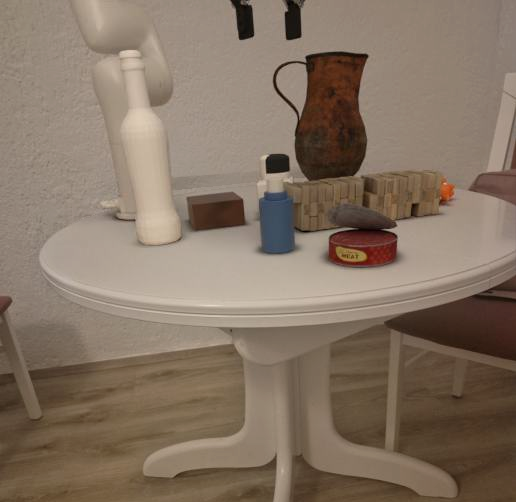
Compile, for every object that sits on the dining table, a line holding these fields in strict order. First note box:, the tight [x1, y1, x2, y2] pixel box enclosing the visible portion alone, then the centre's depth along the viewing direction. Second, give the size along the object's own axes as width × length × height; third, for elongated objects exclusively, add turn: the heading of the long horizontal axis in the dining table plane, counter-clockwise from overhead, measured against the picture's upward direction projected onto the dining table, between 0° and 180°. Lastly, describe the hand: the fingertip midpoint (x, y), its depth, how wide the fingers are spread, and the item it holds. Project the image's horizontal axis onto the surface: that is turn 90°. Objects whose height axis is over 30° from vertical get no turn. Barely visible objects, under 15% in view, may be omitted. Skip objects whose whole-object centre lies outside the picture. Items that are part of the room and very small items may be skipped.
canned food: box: [327, 203, 399, 268], centre depth 70 cm, size 11×10×10 cm
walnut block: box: [186, 191, 246, 232], centre depth 98 cm, size 10×10×5 cm
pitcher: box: [272, 50, 370, 181], centre depth 111 cm, size 17×21×30 cm
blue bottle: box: [258, 177, 296, 255], centre depth 76 cm, size 5×5×11 cm
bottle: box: [118, 50, 182, 246], centre depth 82 cm, size 8×8×30 cm
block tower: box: [284, 168, 444, 232], centre depth 91 cm, size 8×8×29 cm
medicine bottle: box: [256, 153, 295, 220], centre depth 98 cm, size 7×7×12 cm
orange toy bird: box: [440, 177, 456, 202], centre depth 102 cm, size 5×8×12 cm
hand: (270, 38), depth 76 cm, fingers open, 9 cm apart
